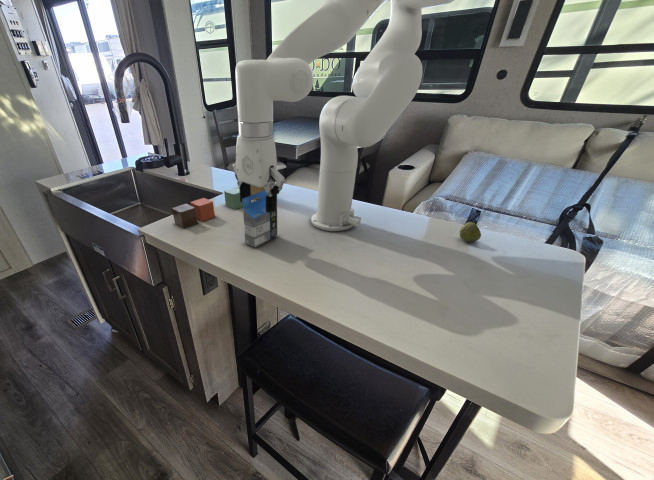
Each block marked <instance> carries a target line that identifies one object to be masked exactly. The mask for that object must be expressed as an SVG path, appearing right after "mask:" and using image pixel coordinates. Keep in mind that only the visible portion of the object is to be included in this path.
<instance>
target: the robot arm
mask: <svg viewBox="0 0 654 480" xmlns="http://www.w3.org/2000/svg"><path fill="white" fill-rule="evenodd" d="M388 1H389V0H325V1H324V2H323V3H322V4H320V5H319V7H317V8H316V9H315V10H314V11H313V12H311V13H310V14H309V15H308V16H307V17H306V18H305V19H304V20H303V21H302V22H300V23H299V24H298V25H297V26H296V27H295V28H294V29H292V31H290V32H289V33H288V34H287V35H286V36H285V37H284V38H283V39H282V40H281V42H279V44H278V45H277V46H276V47H275V49H274V50H273V51H272V52H271V53H270V55H269V56H268V57H267V58H266V59H244V60H240V61H238V62H237V63H236V65H235V90H236V104H237V105H236V106H237V108H236V109H237V123H238V135H237V137H236V145H235V146H236V147H235V163H234V164H232V169H233V172H234V177H235V179H236V181H237V186H238V188H239V190H240V201H241V202H242V199H243V198H246V197H248V196H251V187H250V185H253V186H256V187H264V189H265V191H266V193H267V195H268V196H266V212H268V213H269V212H272V211H274V210H276V209H277V210H278V195H279V194H280V192H281V191H282V190H283V186H284V185H285V182H286V179H285V177H284V176H283V175H282V173H280V172H279V170H278V160H277V159H278V158H277V150H276V149H277V148H276V142H275V141H276V140H275V138H274V102H275V101H278V102H288V103H296V102H299V101H302V100H303V99H305V98H306V97H307V96H308V95H309V94H310V92H311V90H312V89H313V86H314V80H315V79H314V78H315V77H314V72H313V69H312V68H311V67H312V66H310V65H311V63H313V62H315V61H316V60H317V59H320V58H322V57H324V56H326V55H328V54H330V53H333V52H335V51H337V50H339V49H341V48H342V47H344V46H345V45H347V44H348V43H349V42H350V41H351V40H352V39H353V38H354V37H355V36H356V35H357V34H358V32H359V31H360V30H361V29H362V28H363V27H364V25H365V24H366V23H367V22H368V21H369V19H371V17H372V16H373V15H374V14H375V13H376V12H377V11H378V9H379V8H380V7H381V6H382V5H383V4H385V3H386V2H388ZM452 2H455V0H390V14H389V21H388V25H387V27H386V29H385V30H384V32H383V34H382V36H381V37H380V39H378V41H377V42H376V44H375V45H374V47H373V48H372V50H370V52H369V54H368V55H367V56H366V57H365V59H364V60H363V62H362V63H361V64H360V66H358V68H357V70H356V72H355V74H354V76H353V78H352V84H351V87H352V93H353V94H354V95H355V96H352V95H337V96H335V97H332V98H331V99H330V100H328V101H327V102H326V103H325V104H324V106H323V107H322V109H321V112H320V115H319V122H318V124H319V125H318V126H319V127H318V128H319V137H320V165H319V175H318V176H319V177H318V193H317V205H316V213H315V212H314V214H313V215H311V219H310V223H311V225H312V226H313V227H315V228H317V229H319V230H323V231H327V232H343V231H347V230H349V229H351V228H353V227H356V228H359V226H360V225H361V221H362V216H358V215H355V209H354V208H352V205H353V197H354V191H355V183H356V176H357V170H358V169H357V168H358V161H359V153H358V152H359V151H358V148H369V147H372V146H374V145H375V144H377V143H378V142H379V141H380V140H381V139H382V138H383V137H384V136H385V135H386V133H387V132H388V131H389V130H390V128H391V127H392V126H393V125H394V124H395V122H396V121H397V119H399V117H400V116H402V114H403V112H404V111H405V110H406V109H407V107H408V106H410V105H409V104H410V103H411V102H412V101H413V99H414V98H415V97H416V95H417V92H418V90H419V88H420V85H421V82H422V78H423V64H422V61H421V59H420V57H418V56H417V54H416V52H417V51H418V50H419V47H420V45H421V42H422V37H423V36H422V35H423V28H422V13H423V12H422V9H428V8H433V7H440V6H445V5H448V4H451V3H452ZM270 185H271V187H272V189H270V187H269V186H270Z"/></svg>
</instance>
